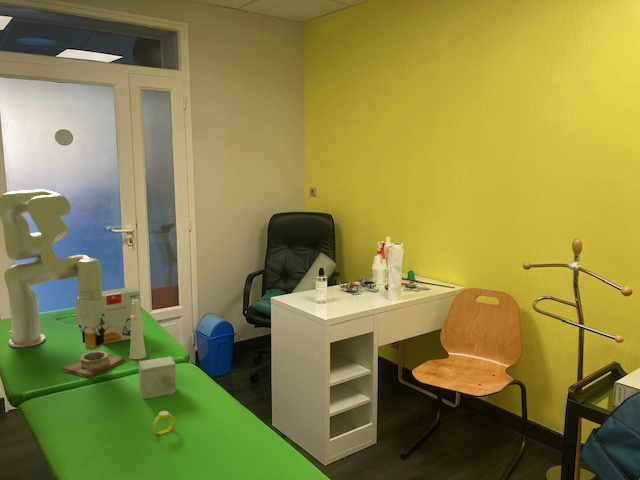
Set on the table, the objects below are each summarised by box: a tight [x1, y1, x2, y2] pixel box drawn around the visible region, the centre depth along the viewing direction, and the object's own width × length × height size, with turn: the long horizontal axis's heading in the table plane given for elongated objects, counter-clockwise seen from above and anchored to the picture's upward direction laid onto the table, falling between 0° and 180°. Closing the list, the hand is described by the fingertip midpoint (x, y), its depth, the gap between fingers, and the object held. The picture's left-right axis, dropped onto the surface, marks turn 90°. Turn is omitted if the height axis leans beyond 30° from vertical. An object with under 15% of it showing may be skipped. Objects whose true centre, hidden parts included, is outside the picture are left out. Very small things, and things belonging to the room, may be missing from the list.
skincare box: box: [138, 356, 177, 400], centre depth 169 cm, size 10×6×10 cm, turn 117°
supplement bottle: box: [84, 327, 103, 352], centre depth 186 cm, size 5×5×10 cm
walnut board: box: [62, 350, 126, 379], centre depth 188 cm, size 13×16×4 cm
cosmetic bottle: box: [129, 299, 147, 360], centre depth 195 cm, size 6×6×22 cm
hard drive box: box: [102, 286, 142, 345], centre depth 212 cm, size 16×8×20 cm, turn 129°
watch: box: [152, 410, 176, 436], centre depth 147 cm, size 6×3×6 cm, turn 133°
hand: (93, 342), depth 186 cm, fingers closed on supplement bottle, 5 cm apart
